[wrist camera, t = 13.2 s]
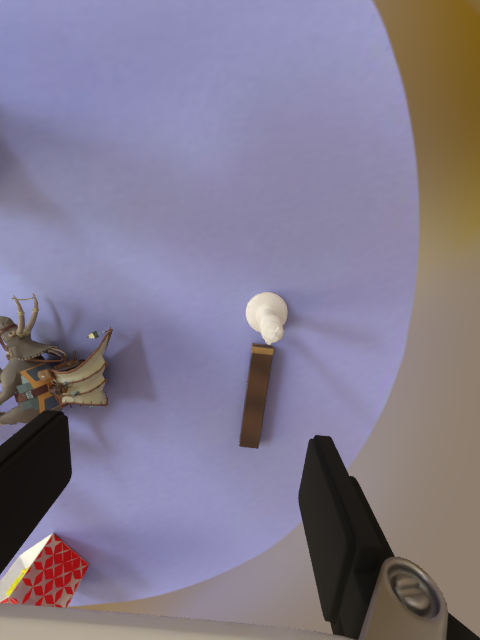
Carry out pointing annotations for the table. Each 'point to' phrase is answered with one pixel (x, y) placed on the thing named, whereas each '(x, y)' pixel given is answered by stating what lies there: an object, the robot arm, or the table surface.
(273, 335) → the chess piece
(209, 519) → the table surface
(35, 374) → the figurine
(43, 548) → the red patterned box
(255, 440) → the walnut stick
